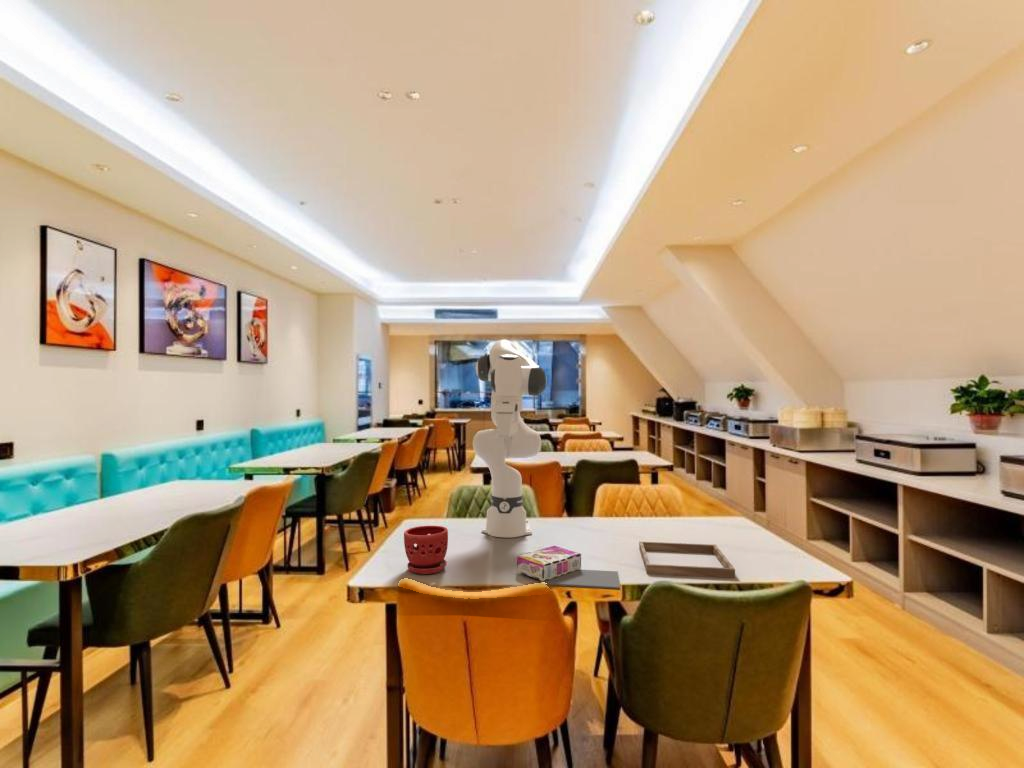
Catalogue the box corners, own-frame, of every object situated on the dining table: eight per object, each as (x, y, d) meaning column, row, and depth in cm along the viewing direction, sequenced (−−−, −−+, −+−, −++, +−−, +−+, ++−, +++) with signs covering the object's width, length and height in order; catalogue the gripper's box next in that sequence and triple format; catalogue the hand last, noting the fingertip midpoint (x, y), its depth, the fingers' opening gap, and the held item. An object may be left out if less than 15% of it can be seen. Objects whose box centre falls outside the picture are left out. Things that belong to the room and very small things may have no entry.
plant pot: (449, 562, 174) (449, 524, 174) (445, 576, 161) (445, 535, 161) (407, 562, 174) (407, 524, 174) (400, 577, 161) (400, 535, 161)
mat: (543, 569, 168) (543, 567, 168) (617, 573, 165) (617, 571, 165) (539, 584, 155) (539, 582, 155) (620, 589, 152) (620, 587, 152)
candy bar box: (581, 552, 167) (543, 565, 155) (581, 569, 167) (543, 582, 155) (554, 544, 175) (516, 555, 164) (554, 560, 175) (516, 572, 164)
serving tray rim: (639, 548, 189) (639, 541, 189) (715, 552, 186) (715, 544, 186) (646, 573, 165) (646, 565, 165) (735, 578, 161) (735, 569, 161)
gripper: (503, 404, 187) (503, 445, 187) (493, 406, 166) (492, 453, 166) (522, 404, 186) (522, 446, 186) (513, 407, 166) (513, 453, 166)
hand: (508, 449), depth 176 cm, fingers closed
